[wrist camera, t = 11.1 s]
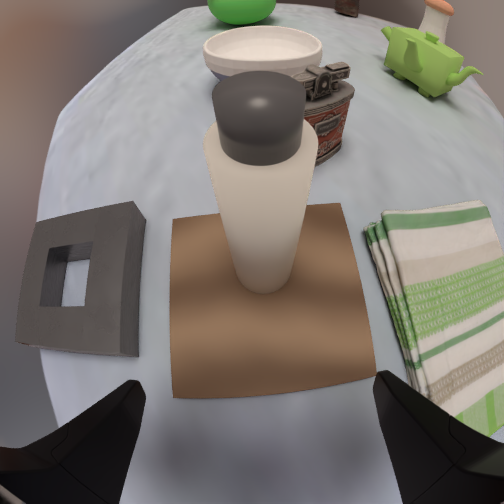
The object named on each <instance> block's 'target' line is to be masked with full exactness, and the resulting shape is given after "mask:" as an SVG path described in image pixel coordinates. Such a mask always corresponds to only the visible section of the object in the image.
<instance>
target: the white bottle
mask: <svg viewBox="0 0 504 504" xmlns="http://www.w3.org/2000/svg"><path fill="white" fill-rule="evenodd" d="M212 99H213V105H214V111H215V116H216V121H215V122H214V123H213V124H212V125H211V126H210V128H209V129H208V131H207V132H206V134H205V137H204V141H203V149H204V153H205V157H206V161H207V165H208V169H209V173H210V177H211V181H212V184H213V188H214V192H215V196H216V200H217V204H218V207H219V211H220V215H221V219H222V223H223V226H224V230H225V234H226V237H227V241H228V245H229V249H230V252H231V256H232V259H233V263H234V267H235V270H236V274H237V277H238V279H239V281H240V283H241V284H242V285H243V286H244V287H245V288H246V289H248V290H250V291H252V292H254V293H258V294H268V293H273V292H275V291H277V290H279V289H280V288H282V287H283V286H284V285H285V284H286V282H287V281H288V279H289V277H290V274H291V270H292V266H293V262H294V258H295V253H296V249H297V245H298V241H299V236H300V232H301V228H302V223H303V219H304V214H305V209H306V205H307V200H308V196H309V191H310V186H311V181H312V176H313V171H314V166H315V161H316V156H317V151H318V138H317V134H316V132H315V130H314V129H313V127H312V126H311V125H310V124H309V123H308V122H307V121H306V120H305V119H304V112H305V103H306V90H305V88H304V86H303V85H302V84H301V83H300V82H299V81H298V80H296V79H294V78H292V77H290V76H288V75H285V74H282V73H278V72H272V71H249V72H243V73H239V74H235V75H233V76H230V77H228V78H226V79H224V80H222V81H221V82H220V83H218V84H217V85H216V86H215V88H214V90H213V92H212Z"/></svg>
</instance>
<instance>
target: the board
mask: <svg viewBox="0 0 504 504" xmlns="http://www.w3.org/2000/svg"><path fill="white" fill-rule="evenodd" d="M170 353H171V374H172V390H173V398H232V397H248V396H261V395H271V394H280V393H288V392H296V391H303V390H309V389H316V388H321V387H327V386H332V385H338V384H342V383H347V382H352V381H356V380H361V379H365V378H369V377H373V376H376V374H377V371H376V363H375V356H374V349H373V343H372V336H371V331H370V325H369V319H368V314H367V309H366V304H365V299H364V294H363V289H362V284H361V280H360V276H359V271H358V267H357V263H356V259H355V255H354V251H353V247H352V243H351V239H350V236H349V232H348V228H347V225H346V221H345V218H344V214H343V211H342V208H341V204H340V203H330V204H316V205H306V209H305V214H304V219H303V223H302V228H301V232H300V236H299V241H298V245H297V249H296V253H295V258H294V262H293V266H292V270H291V274H290V277H289V279H288V281H287V282H286V284H285V285H284V286H283V287H282V288H280V289H279V290H277V291H275V292H273V293H268V294H258V293H254V292H252V291H250V290H248V289H246V288H245V287H244V286H243V285H242V284H241V283H240V281H239V279H238V277H237V274H236V270H235V267H234V263H233V259H232V256H231V252H230V249H229V245H228V241H227V237H226V234H225V230H224V226H223V223H222V219H221V215H220V213H218V214H210V215H201V216H193V217H185V218H177V219H173V224H172V240H171V262H170Z"/></svg>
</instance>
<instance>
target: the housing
mask: <svg viewBox="0 0 504 504" xmlns="http://www.w3.org/2000/svg"><path fill="white" fill-rule="evenodd" d="M145 223H146V219H145V218H144V216H143V215H142V213H141V212H140V210H139V209H138V207H137V206H136V205H135V203H134V202H133V201H130V202H124V203H119V204H114V205H109V206H104V207H99V208H94V209H90V210H85V211H80V212H76V213H72V214H67V215H63V216H59V217H55V218H51V219H47V220H43V221H39V222H36V225H35V229H34V232H33V236H32V239H31V243H30V248H29V251H28V255H27V260H26V265H25V269H24V274H23V279H22V285H21V292H20V298H19V305H18V314H17V323H16V337H15V341H16V342H18V343H21V344H25V345H28V346H32V347H36V348H41V349H48V350H56V351H64V352H73V353H83V354H94V355H108V356H127V357H139V353H138V322H139V292H140V275H141V262H142V251H143V240H144V231H145ZM84 259H90V264H89V271H88V278H87V287H86V296H85V306H76V307H61V300H62V292H63V285H64V278H65V271H66V266H67V262H68V261H76V260H84Z"/></svg>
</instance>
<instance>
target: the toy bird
mask: <svg viewBox="0 0 504 504" xmlns="http://www.w3.org/2000/svg"><path fill="white" fill-rule="evenodd" d="M275 5H276V0H208V6H209V9H210V11H211V13H212V14H213V15H214V16H215V17H216V18H217V19H219V20H220V21H223V22H225V23H229V24H235V25H244V24H251V23H255V22H258V21H260V20H263V19H265V18H266V17H268V16H269V15H270V14H271V13H272V12H273V10H274V8H275Z"/></svg>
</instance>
